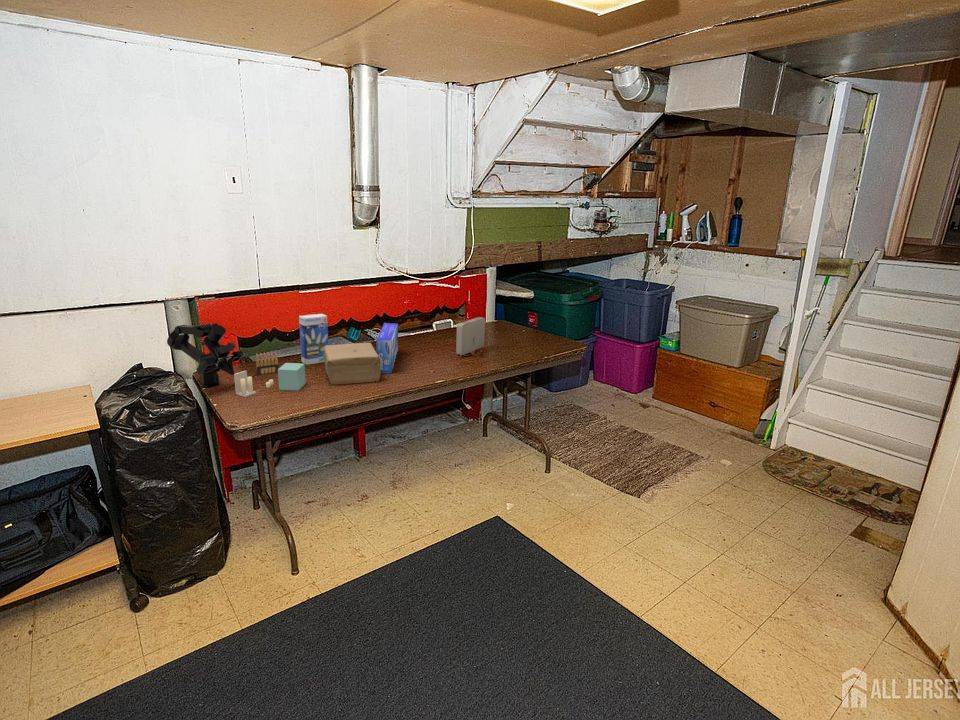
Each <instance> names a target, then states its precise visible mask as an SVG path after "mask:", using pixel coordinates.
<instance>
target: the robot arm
mask: <svg viewBox="0 0 960 720" xmlns="http://www.w3.org/2000/svg"><path fill="white" fill-rule="evenodd" d="M226 331H227V330H226V327H224V326H223V325H220V324H218V323H217V322H214V323H212V324H211V323H209V322H207V323H202V324H197V325H190V324H181V325H180V324H179V325H176V326H175V327H174V329H173V331H171V333H169V334H168V336H167V340H166V342H167V343H166V344H167V345H168V347H169V348H170V349H172V350H176V351H182V352H183V353H185V354H186V355H187V356H188V357H190V358H191V359H193V360H194V361H195V362H197V363H198V366H197V368H196V373H197V374H198V375H200V377H201V383H200V385H202V386H203V387H204V388H211V387H214V386H215V387H216V386H220V377H219V376H220V375H219V374H218V372H220V371H224V372H225V373H227V374H228V375H230V376H234V374H235V370H234V366H233V363H236V362H237V361H240V360H241V359H242V357H243V356H244V354H245V352H244V351H243V350H242V349H238V350H234V349H236V344H235V343H234V341H229V342H227V344H222V343H220V342H221V340H222V339H223V338H224V336H225V334H226ZM190 335H194V337H196V338H198V339H199V338H203V339H202V340H201V341H202V342H201V346H205V348H206V349H207V350H208V351H209V352H208V353H205V352H203V351H202V350H200V349H199V348H197V347H196V346H194V344H191V343H190V342H189V340H190ZM232 351H233V352H232ZM231 352H232V353H231Z"/></svg>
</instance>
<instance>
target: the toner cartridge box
mask: <svg viewBox="0 0 960 720" xmlns="http://www.w3.org/2000/svg"><path fill="white" fill-rule="evenodd" d="M398 351H399V323H391V322H384V323H383V326H382V328H381V329H380V331H379V334H378V335H377V338H376V353H377V354H378V356H379V358H380V365H381V372H380V374H392V373H393V371H392V370H393V369H394V366H395V364H396V363H395V362H396V360H397V357H396V355H397V356H398V353H399V352H398ZM397 352H398V353H397ZM395 359H396V360H395ZM394 363H395V364H394Z"/></svg>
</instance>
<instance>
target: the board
mask: <svg viewBox="0 0 960 720" xmlns="http://www.w3.org/2000/svg"><path fill="white" fill-rule="evenodd" d="M272 385H273V386H274V379H273V378H271V379H268V381H266V382H265V387H266V388H271V386H272Z"/></svg>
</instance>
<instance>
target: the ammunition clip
mask: <svg viewBox="0 0 960 720" xmlns="http://www.w3.org/2000/svg"><path fill="white" fill-rule="evenodd" d="M255 367H256V368H255V369H256V371H255V372H256V376H259V375H260V376H261V375H266V374H267V375H269V374H275V373H276V374H277V373H278V369H279V368H280V367H279V359H278V354H277V351H276V350H275V351H274V353H273V351H270V352H269V351H267V353H265V352H263V354H262V352H260V353H259V354H258V353H255Z"/></svg>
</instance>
